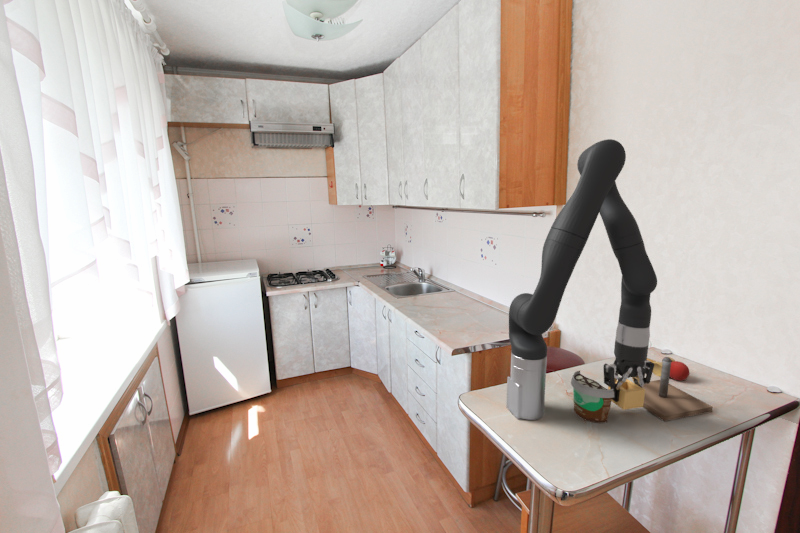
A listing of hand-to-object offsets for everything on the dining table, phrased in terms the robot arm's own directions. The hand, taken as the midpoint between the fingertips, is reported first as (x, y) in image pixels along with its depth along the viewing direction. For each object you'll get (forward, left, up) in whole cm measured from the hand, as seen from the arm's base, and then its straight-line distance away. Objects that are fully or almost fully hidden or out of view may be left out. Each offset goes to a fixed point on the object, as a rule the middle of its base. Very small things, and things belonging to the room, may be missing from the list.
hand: (625, 398), depth 104 cm
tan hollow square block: (0, 0, -1) cm, 1 cm away
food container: (-10, +2, -5) cm, 12 cm away
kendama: (+30, +18, -5) cm, 35 cm away
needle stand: (+16, +2, -5) cm, 17 cm away
